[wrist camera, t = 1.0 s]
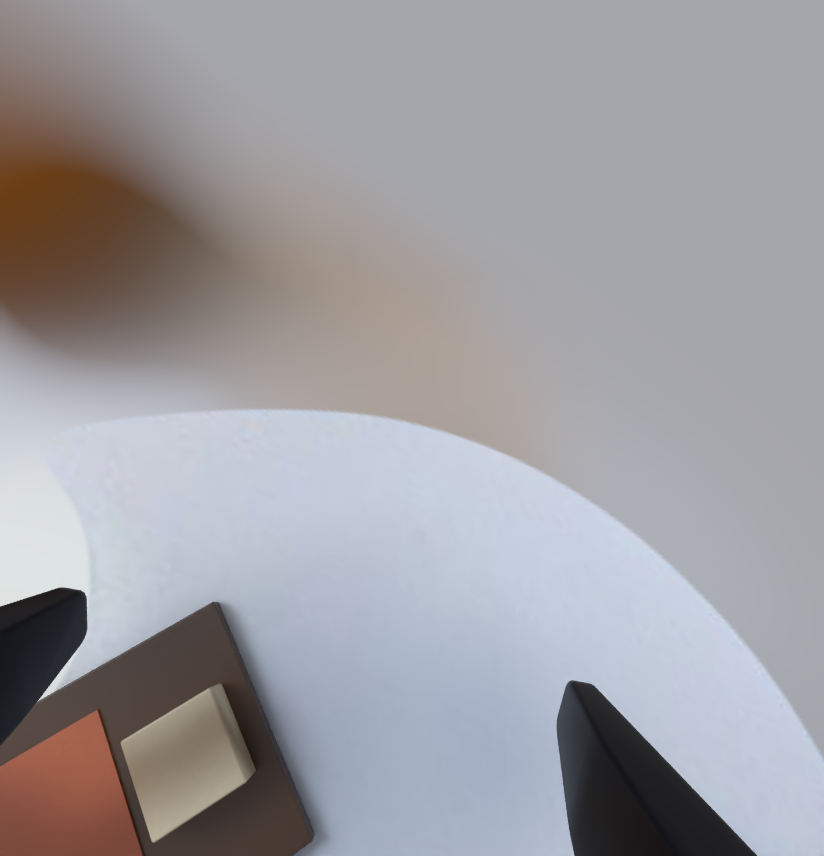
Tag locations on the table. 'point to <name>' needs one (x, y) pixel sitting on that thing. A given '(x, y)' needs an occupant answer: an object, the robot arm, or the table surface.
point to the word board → (161, 691)
